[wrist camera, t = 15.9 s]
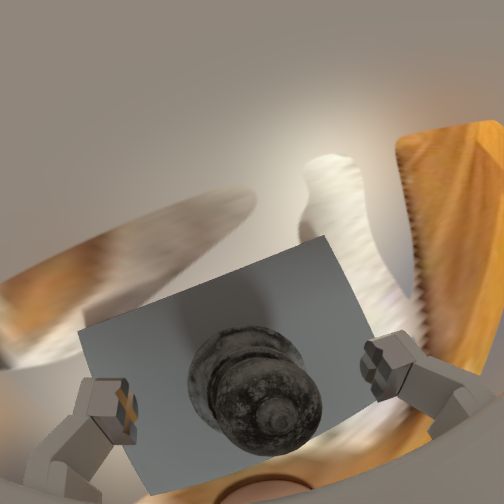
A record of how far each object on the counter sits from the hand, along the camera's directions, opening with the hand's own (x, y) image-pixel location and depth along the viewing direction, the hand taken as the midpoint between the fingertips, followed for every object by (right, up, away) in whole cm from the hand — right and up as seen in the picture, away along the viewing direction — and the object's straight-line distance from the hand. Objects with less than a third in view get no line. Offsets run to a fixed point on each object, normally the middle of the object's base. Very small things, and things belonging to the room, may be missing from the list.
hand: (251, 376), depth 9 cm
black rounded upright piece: (-1, -3, +8) cm, 9 cm away
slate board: (-1, -4, +9) cm, 10 cm away
